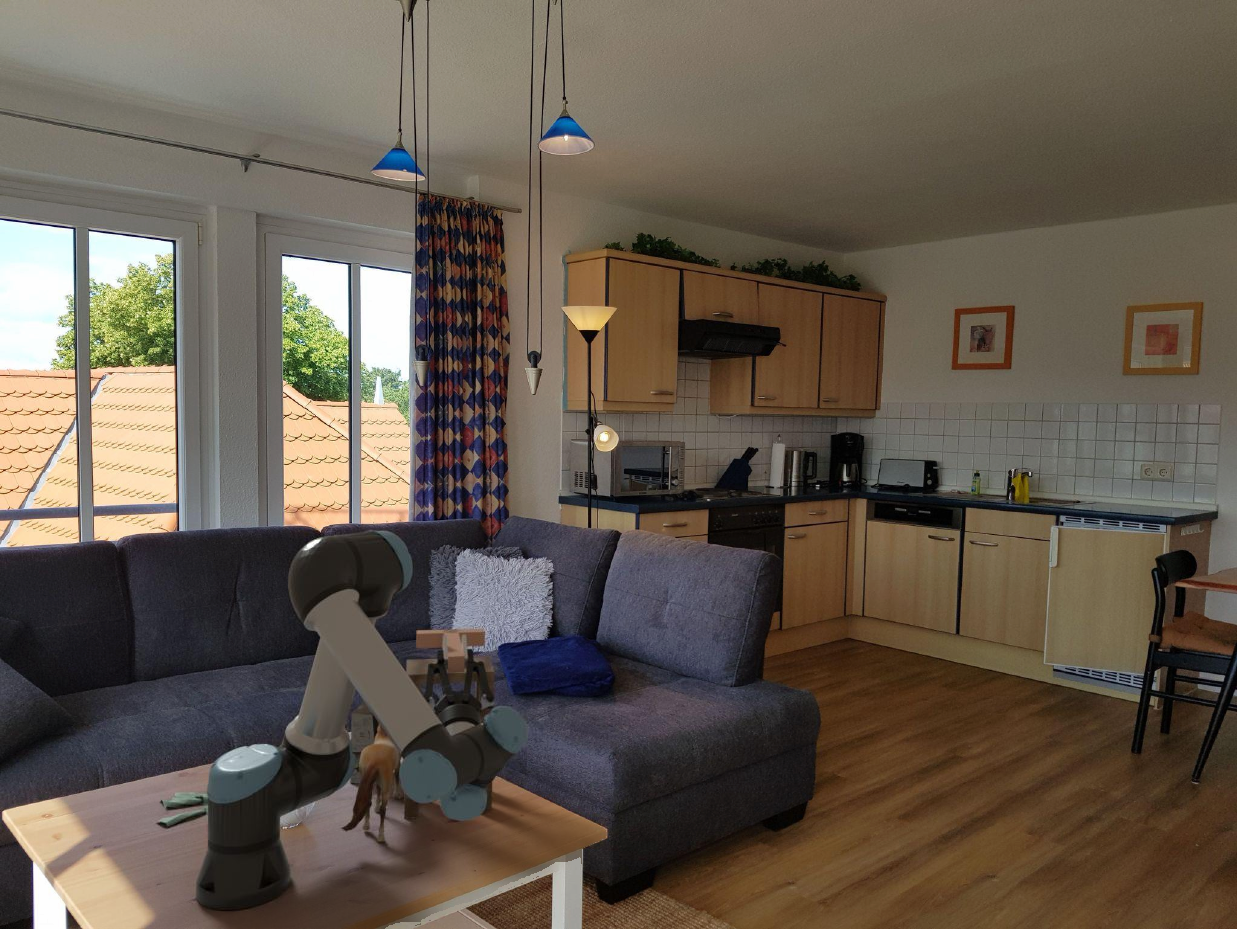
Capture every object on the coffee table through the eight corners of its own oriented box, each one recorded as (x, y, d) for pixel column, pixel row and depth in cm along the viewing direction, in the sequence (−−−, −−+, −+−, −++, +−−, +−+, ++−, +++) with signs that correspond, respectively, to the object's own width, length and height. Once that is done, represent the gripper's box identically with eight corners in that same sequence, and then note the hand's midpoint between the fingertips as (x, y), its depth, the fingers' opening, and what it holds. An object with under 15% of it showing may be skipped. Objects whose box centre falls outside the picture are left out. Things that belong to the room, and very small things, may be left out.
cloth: (246, 824, 180) (246, 812, 180) (123, 843, 171) (123, 831, 171) (242, 786, 199) (242, 776, 199) (131, 802, 189) (131, 791, 189)
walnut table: (404, 818, 183) (406, 674, 182) (404, 794, 195) (406, 659, 194) (491, 811, 187) (494, 671, 186) (487, 789, 199) (489, 656, 198)
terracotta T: (418, 673, 165) (418, 657, 165) (416, 644, 186) (416, 630, 186) (493, 670, 168) (493, 655, 168) (483, 642, 190) (483, 628, 190)
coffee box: (377, 784, 200) (378, 713, 199) (349, 783, 200) (350, 713, 199) (388, 768, 209) (389, 701, 208) (361, 768, 209) (362, 700, 209)
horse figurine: (376, 790, 197) (377, 699, 196) (411, 790, 197) (412, 699, 196) (339, 859, 166) (341, 750, 165) (381, 858, 166) (383, 750, 165)
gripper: (412, 751, 155) (411, 655, 174) (504, 746, 159) (494, 652, 178) (412, 722, 151) (412, 626, 170) (507, 717, 155) (496, 624, 174)
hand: (454, 640), depth 174 cm, fingers closed on terracotta T, 3 cm apart
